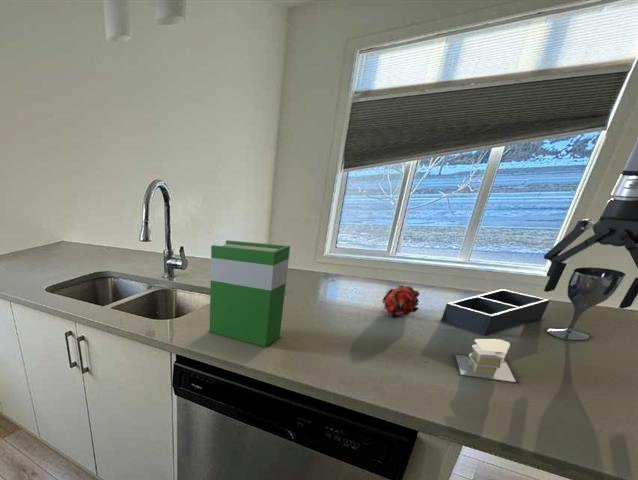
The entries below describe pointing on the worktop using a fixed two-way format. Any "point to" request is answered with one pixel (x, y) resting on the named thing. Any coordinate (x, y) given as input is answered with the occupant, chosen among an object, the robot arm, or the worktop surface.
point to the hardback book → (248, 290)
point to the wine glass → (588, 295)
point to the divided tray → (494, 311)
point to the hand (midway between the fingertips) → (584, 298)
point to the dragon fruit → (401, 301)
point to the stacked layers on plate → (486, 360)
